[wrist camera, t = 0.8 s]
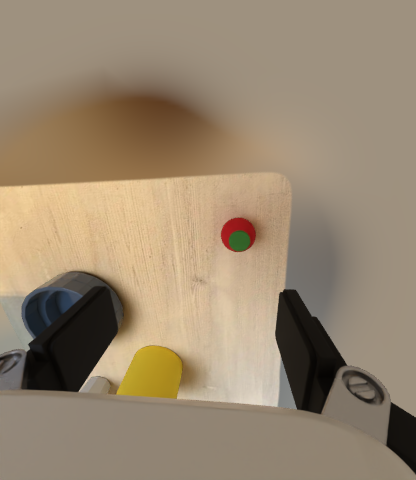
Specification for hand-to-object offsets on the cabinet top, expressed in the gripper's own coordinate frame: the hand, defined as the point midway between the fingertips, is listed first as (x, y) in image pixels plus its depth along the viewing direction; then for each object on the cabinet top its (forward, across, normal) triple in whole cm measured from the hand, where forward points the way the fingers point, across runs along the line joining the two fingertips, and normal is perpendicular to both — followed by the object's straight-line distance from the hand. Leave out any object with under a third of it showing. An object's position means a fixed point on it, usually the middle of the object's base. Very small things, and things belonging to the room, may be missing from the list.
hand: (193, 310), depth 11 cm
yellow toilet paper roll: (+19, +12, +29) cm, 37 cm away
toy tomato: (+19, -4, +1) cm, 19 cm away
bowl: (+19, +23, +15) cm, 34 cm away
